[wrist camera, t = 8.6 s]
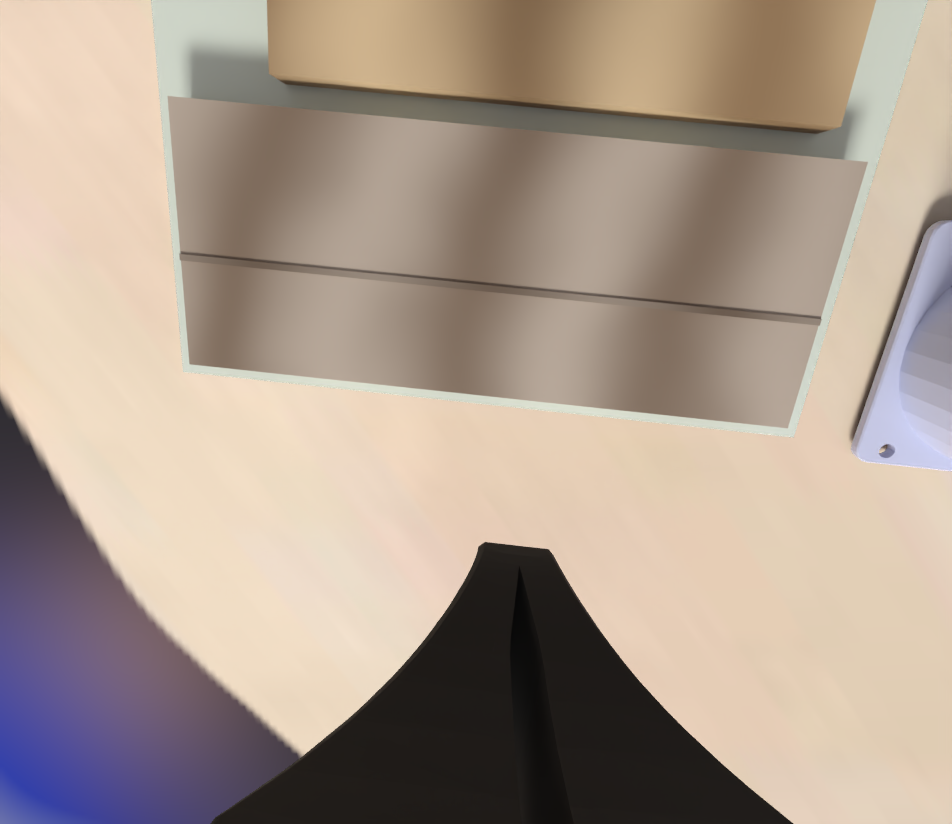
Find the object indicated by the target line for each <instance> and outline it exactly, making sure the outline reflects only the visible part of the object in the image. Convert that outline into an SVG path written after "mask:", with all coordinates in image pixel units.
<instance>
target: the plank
mask: <svg viewBox="0 0 952 824" xmlns="http://www.w3.org/2000/svg"><path fill="white" fill-rule="evenodd" d="M875 3H876V0H267V26H268V64H269V74H270V75H272V76H273V77H275V78H276V79H278V80H279V81H281V82H283V83H284V84H287V85H298V86H309V87H319V88H330V89H341V90H352V91H362V92H373V93H384V94H395V95H405V96H416V97H427V98H437V99H448V100H459V101H470V102H480V103H491V104H502V105H513V106H523V107H534V108H545V109H556V110H566V111H577V112H588V113H598V114H609V115H620V116H631V117H641V118H652V119H663V120H674V121H684V122H695V123H706V124H717V125H727V126H738V127H749V128H759V129H770V130H781V131H792V132H802V133H813V134H819V133H822V132H825V131H828V130H832V129H835V128H838V127H841V125H842V121H843V117H844V114H845V110H846V107H847V103H848V99H849V96H850V92H851V89H852V85H853V82H854V78H855V74H856V71H857V67H858V64H859V60H860V57H861V53H862V49H863V46H864V42H865V39H866V35H867V31H868V28H869V24H870V21H871V17H872V14H873V10H874V6H875Z"/></svg>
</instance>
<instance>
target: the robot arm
mask: <svg viewBox="0 0 952 824" xmlns="http://www.w3.org/2000/svg"><path fill="white" fill-rule="evenodd" d="M885 444H888V446H887V449H886V450H885V451H884V452H882V453H879V450H880V448H881V447H882V446H884V445H885ZM851 451H852V453H853V455H855V456H856V457H857V458H858V459H860V460H861V461H865V462H870V463H879V464H889V465H898V466H907V467H916V468H926V469H935V470H944V471H952V220H943V221H938V222H936V223H934V224H932V225H931V226H930V227H929V228H928V229H927V231H926V233H925V235H924V237H923V240H922V243H921V246H920V248H919V251H918V254H917V257H916V260H915V263H914V266H913V269H912V271H911V274H910V277H909V280H908V283H907V286H906V289H905V292H904V295H903V297H902V300H901V303H900V306H899V309H898V312H897V315H896V318H895V321H894V323H893V326H892V329H891V332H890V335H889V338H888V341H887V344H886V347H885V349H884V352H883V355H882V358H881V361H880V364H879V367H878V370H877V373H876V375H875V378H874V381H873V384H872V387H871V390H870V393H869V396H868V398H867V401H866V404H865V407H864V410H863V413H862V416H861V419H860V422H859V424H858V427H857V430H856V433H855V436H854V439H853V442H852V446H851ZM211 824H793V823H792V822H791V821H789V820H788V819H787V818H786V817H784V816H783V815H782V814H781V813H780V812H778V811H777V810H776V809H775V808H773V807H772V806H771V805H770V804H769V803H767V802H766V801H765V800H764V799H762V798H761V797H760V796H759V795H757V794H756V793H755V792H754V791H753V790H751V789H750V788H749V787H748V786H747V785H745V784H744V783H743V782H742V781H741V780H740V779H739V778H737V777H736V776H735V775H734V774H733V773H732V772H731V771H729V770H728V769H727V768H726V767H725V766H724V765H723V764H721V763H720V762H719V761H718V760H717V759H716V758H715V757H714V756H713V755H712V754H711V753H710V752H708V751H707V750H706V749H705V748H704V747H703V746H702V745H701V744H700V743H699V742H698V741H697V740H696V739H695V738H694V737H693V736H691V735H690V734H689V733H688V732H687V731H686V730H685V729H684V728H683V727H682V726H681V725H680V724H679V723H678V722H677V721H676V720H675V719H674V718H673V717H672V716H671V715H670V714H669V713H668V712H667V711H666V710H665V709H664V708H663V707H662V705H661V704H660V703H659V702H658V701H657V700H656V699H655V698H654V697H653V696H652V695H651V693H650V692H649V691H648V690H647V689H646V688H645V687H644V686H643V685H642V684H641V682H640V681H639V680H638V679H637V678H636V677H635V675H634V674H633V673H632V672H631V671H630V669H629V668H628V667H627V666H626V664H625V663H624V662H623V661H622V659H621V658H620V657H619V655H618V654H617V653H616V652H615V650H614V649H613V648H612V646H611V645H610V644H609V642H608V641H607V640H606V638H605V637H604V635H603V634H602V633H601V631H600V630H599V629H598V627H597V626H596V624H595V623H594V621H593V620H592V618H591V617H590V615H589V614H588V612H587V611H586V609H585V608H584V606H583V605H582V603H581V602H580V600H579V599H578V597H577V596H576V594H575V592H574V591H573V589H572V587H571V586H570V584H569V582H568V581H567V579H566V577H565V576H564V574H563V572H562V570H561V569H560V567H559V565H558V563H557V561H556V559H555V558H554V556H553V554H552V553H551V552H550V551H549V549H540V548H532V547H523V546H514V545H505V544H497V543H488V542H485V543H483V544H482V545H480V546H479V547H478V552H477V555H476V558H475V561H474V563H473V565H472V567H471V570H470V571H469V573H468V575H467V577H466V579H465V581H464V583H463V584H462V586H461V588H460V589H459V591H458V593H457V594H456V596H455V598H454V599H453V601H452V602H451V604H450V606H449V607H448V609H447V610H446V611H445V613H444V614H443V616H442V617H441V618H440V620H439V621H438V622H437V624H436V625H435V627H434V628H433V629H432V631H431V632H430V633H429V635H428V636H427V637H426V639H425V640H424V641H423V642H422V644H421V645H420V646H419V647H418V648H417V650H416V651H415V652H414V653H413V654H412V656H411V657H410V658H409V659H408V660H407V661H406V662H405V663H404V665H403V666H402V667H401V668H400V669H399V670H398V671H397V672H396V673H395V674H394V675H393V677H392V678H391V679H390V680H389V681H388V682H387V683H386V684H385V685H384V686H383V687H382V688H381V689H379V690H378V691H377V692H376V693H375V694H374V695H373V696H372V697H371V698H370V699H369V700H368V701H367V702H366V703H365V704H364V705H363V706H362V707H361V708H360V709H359V710H358V711H357V712H355V713H354V714H353V715H352V716H351V717H350V718H349V719H348V720H346V721H345V722H344V723H343V724H342V725H340V726H339V727H338V728H337V729H335V730H334V731H333V732H332V733H331V734H329V735H328V736H327V737H326V738H324V739H323V740H322V741H321V742H320V743H318V744H317V745H316V746H315V747H314V748H312V749H311V750H310V751H309V752H307V753H306V754H305V755H304V756H303V757H301V758H300V759H299V760H297V761H296V762H295V763H293V764H292V765H291V766H289V767H288V768H287V769H285V770H284V771H282V772H281V773H280V774H278V775H277V776H275V777H274V778H272V779H271V780H269V781H268V782H267V783H265V784H264V785H262V786H261V787H259V788H258V789H256V790H255V791H254V792H252V793H251V794H249V795H248V796H246V797H245V798H243V799H242V800H241V801H239V802H238V803H236V804H235V805H233V806H232V807H231V808H229V809H228V810H226V811H224V812H223V813H221V814H220V815H218V816H217V817H216V818H215V819H214V820H213V821H212V823H211Z"/></svg>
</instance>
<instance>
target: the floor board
mask: <svg viewBox="0 0 952 824" xmlns="http://www.w3.org/2000/svg"><path fill="white" fill-rule="evenodd" d="M167 97H168V109H169V121H170V133H171V145H172V158H173V170H174V182H175V194H176V206H177V219H178V231H179V243H180V254H179V257H180V260H181V267H182V280H183V292H184V304H185V316H186V329H187V341H188V353H189V364H191V365H200V366H210V367H219V368H229V369H238V370H247V371H257V372H266V373H275V374H285V375H294V376H303V377H313V378H322V379H331V380H341V381H350V382H359V383H369V384H378V385H387V386H397V387H406V388H415V389H425V390H434V391H443V392H453V393H462V394H471V395H481V396H490V397H500V398H509V399H518V400H528V401H537V402H546V403H556V404H565V405H574V406H584V407H593V408H602V409H612V410H621V411H630V412H640V413H649V414H658V415H668V416H677V417H686V418H696V419H705V420H714V421H724V422H733V423H742V424H752V425H761V426H771V427H780V428H788V426H789V423H790V419H791V416H792V413H793V409H794V406H795V403H796V399H797V396H798V393H799V389H800V386H801V383H802V379H803V376H804V373H805V369H806V366H807V363H808V360H809V356H810V353H811V350H812V346H813V343H814V340H815V336H816V333H817V330H818V326H820V324H821V320H822V319H821V316H822V313H823V310H824V306H825V303H826V300H827V297H828V293H829V290H830V287H831V283H832V280H833V277H834V273H835V270H836V267H837V263H838V260H839V257H840V253H841V250H842V247H843V243H844V240H845V237H846V234H847V230H848V227H849V224H850V220H851V217H852V214H853V210H854V207H855V204H856V200H857V197H858V194H859V190H860V187H861V184H862V180H863V177H864V174H865V171H866V167H867V164H868V162H863V161H852V160H842V159H831V158H821V157H810V156H799V155H789V154H778V153H767V152H757V151H746V150H736V149H725V148H714V147H704V146H693V145H683V144H672V143H661V142H651V141H640V140H630V139H619V138H608V137H598V136H587V135H577V134H566V133H555V132H545V131H534V130H523V129H513V128H502V127H492V126H481V125H470V124H460V123H449V122H439V121H428V120H417V119H407V118H396V117H386V116H375V115H364V114H354V113H343V112H333V111H322V110H311V109H301V108H290V107H280V106H269V105H258V104H248V103H237V102H226V101H216V100H205V99H195V98H184V97H173V96H167Z"/></svg>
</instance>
